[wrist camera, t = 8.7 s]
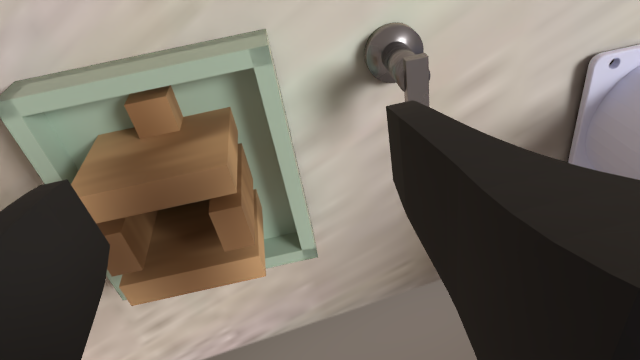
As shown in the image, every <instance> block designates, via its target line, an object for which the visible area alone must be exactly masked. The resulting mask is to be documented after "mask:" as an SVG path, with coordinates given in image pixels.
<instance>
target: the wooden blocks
mask: <svg viewBox="0 0 640 360" xmlns="http://www.w3.org/2000/svg"><path fill="white" fill-rule="evenodd" d="M124 106H125V108H126V111H127V113H128V115H129V117H130V119H131V121H132V123H133V125H134V127H133V128H129V129H124V130H119V131H115V132H110V133H105V134H101V135H98V136H97V138H96V140H95V142H94V143H93V145H92V147H91V149H90V151H89V153H88V154H87V156H86V158H85V160H84V162H83V163H82V165H81V167H80V169H79V171H78V173H77V174H76V176H75V178H74V180H73V182H72V183H71V186H72V187H73V189H74V190H75V192H76V193H77V195H78V196H79V198H80V199H81V201H82V203H83V204H84V206H85V207H86V209H87V210H88V212H89V213H90V215H91V216H92V218H93V219H94V221H95V222H96V224H97V226H98V227H99V229H100V230H101V232H102V233H103V235H104V236H105V238H106V239H107V241H108V242H109V244H110V250H109V259H108V267H107V270H108V271H109V273H110V274H111V276H112V277H113V276H118V275H122V274H123V275H122V278H121V281H120V285H119V288H120V289H121V291H122V292H123V294H124V295H125V297H126V298H127V300H128V301H129V303H130V305H131V306H134V305H138V304H143V303H147V302H152V301H156V300H161V299H165V298H170V297H174V296H179V295H183V294H188V293H192V292H197V291H201V290H206V289H210V288H215V287H219V286H224V285H228V284H233V283H237V282H242V281H246V280H251V279H255V278H260V277H264V276H266V267H265V249H264V232H263V214H262V206H261V203H260V199H259V196H258V193H257V190H256V189H254V190H253V177H252V174H251V171H250V168H249V165H248V161H247V158H246V155H245V152H244V149H243V146H242V143H240V144H238V130H237V126H236V123H235V120H234V117H233V114H232V111H231V107H227V108H222V109H218V110H213V111H208V112H204V113H199V114H194V115H190V116H185V117H183V115H182V112H181V110H180V107H179V105H178V102H177V99H176V97H175V94H174V92H173V89H172V87H171V85H169V86H165V87H160V88H155V89H150V90H146V91H141V92H136V93H131V94H129V96H128V98H127V100H126V102H125V104H124ZM207 199H208V200H207ZM202 200H203V201H202ZM197 201H199V202H197ZM193 202H194V203H193ZM188 203H189V204H188ZM184 204H185V205H184ZM179 205H180V206H179ZM174 206H176V207H174ZM170 207H171V208H170ZM165 208H166V209H165ZM161 209H162V210H161Z"/></svg>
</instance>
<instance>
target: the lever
mask: <svg viewBox="0 0 640 360" xmlns="http://www.w3.org/2000/svg"><path fill="white" fill-rule="evenodd" d="M364 57H365V62H366V65H367V67H368V69H369V70H370V72H371V73H372V75H373V76H374V77H376V78H377V79H378V80H380V81H383V82H386V83H397V84H398V85H399V87H400V88H401V89H402V90H403V91H404V92H405V102H407V101H412V100H414V101H416V102H419V103H421V104H423V105H425V106H428V107H429V80H430V71H429V67H428V56H427V55H426V54H425V53H423V43H422V40H421V38H420V36H419V35H418V34H417V33H416V32H415V31H414V30H413V29H412V28H411V27H409V26H408V25H406V24H403V23H389V24H386V25H383V26H382V27H380V28H378V29H377V30H376V31H375V32H374V33H373V34H372V35H371V36H370V38H369V39H368V41H367V44H366V47H365V52H364Z"/></svg>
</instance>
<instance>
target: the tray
mask: <svg viewBox="0 0 640 360" xmlns="http://www.w3.org/2000/svg"><path fill="white" fill-rule="evenodd" d="M169 85H171V87H172V89H173V92H174V94H175V97H176V99H177V102H178V105H179V107H180V110H181V112H182V115H183V117H185V116H190V115H194V114H199V113H204V112H208V111H213V110H218V109H222V108H227V107H231V111H232V114H233V117H234V120H235V123H236V126H237V130H238V144H240V143H242V146H243V149H244V152H245V155H246V158H247V161H248V165H249V168H250V171H251V174H252V177H253V190H254V189H256V190H257V193H258V196H259V199H260V203H261V206H262V214H263V232H264V249H265V267H266V268H271V267H275V266H280V265H284V264H289V263H293V262H298V261H302V260H307V259H311V258H316V257H318V254H317V249H316V244H315V239H314V234H313V229H312V225H311V220H310V216H309V212H308V207H307V203H306V199H305V195H304V190H303V186H302V182H301V178H300V173H299V169H298V165H297V160H296V156H295V152H294V148H293V143H292V139H291V135H290V131H289V126H288V122H287V118H286V114H285V109H284V105H283V101H282V96H281V92H280V88H279V84H278V79H277V75H276V71H275V67H274V62H273V58H272V54H271V50H270V45H269V41H268V37H267V32H266V29H263V30H258V31H253V32H248V33H244V34H239V35H234V36H229V37H224V38H220V39H215V40H210V41H205V42H201V43H196V44H191V45H186V46H182V47H177V48H172V49H167V50H163V51H158V52H153V53H148V54H144V55H139V56H134V57H129V58H125V59H120V60H115V61H110V62H106V63H101V64H96V65H91V66H87V67H82V68H77V69H72V70H68V71H63V72H58V73H53V74H48V75H44V76H39V77H34V78H29V79H25V80H20V81H15V82H14V83H13V84H12V85H10V86H9V87H8V88H7V89H6V90H5V91H4V92H3V93H2V94H1V95H0V118H1V120H2V121H3V123H4V124H5V126H6V127H7V128H8V130H9V131H10V133H11V134H12V136H13V137H14V139H15V140H16V142H17V143H18V145H19V146H20V148H21V149H22V151H23V152H24V154H25V155H26V157H27V158H28V160H29V161H30V163H31V164H32V166H33V167H34V169H35V170H36V172H37V173H38V175H39V176H40V178H41V179H42V181H43V182H44V184H49V183H53V182H57V181H62V180H66V179H68V181H69V183H70V184H71V183H72V182H73V180H74V178H75V176H76V174H77V173H78V171H79V169H80V167H81V165H82V163H83V162H84V160H85V158H86V156H87V154H88V153H89V151H90V149H91V147H92V145H93V143H94V142H95V140H96V138H97V136H98V135H101V134H105V133H110V132H115V131H119V130H124V129H129V128H133V127H134V125H133V123H132V121H131V119H130V117H129V115H128V113H127V111H126V108H125V106H124V104H125V102H126V100H127V98H128V96H129V94H131V93H136V92H141V91H146V90H150V89H155V88H160V87H165V86H169ZM207 200H208V199H207ZM202 201H203V200H202ZM197 202H199V201H197ZM193 203H194V202H193ZM188 204H189V203H188ZM184 205H185V204H184ZM179 206H180V205H179ZM174 207H176V206H174ZM170 208H171V207H170ZM165 209H166V208H165ZM161 210H162V209H161ZM122 275H123V274H122ZM122 275H118V276H113V277H112V276H111V274H110V273H109V271H108V270H107V273H106V276H107V277H108V279H109V280H110V282H111V283H112V285H113V286H114V288H115V289H116V291H117V292H118V294H119V295H120V297H121V298H122V300H127V298H126V297H125V295H124V294H123V292H122V291H121V289H120V288H119V285H120V281H121V278H122Z"/></svg>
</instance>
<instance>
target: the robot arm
mask: <svg viewBox="0 0 640 360" xmlns="http://www.w3.org/2000/svg"><path fill="white" fill-rule="evenodd" d="M613 59H614V61H613V63H612V64H611V65H609V64H610V62H611V61H612V60H613ZM386 111H387V121H388V132H389V142H390V152H391V162H392V172H393V181H394V183H395V186H396V189H397V191H398V194H399V197H400V200H401V202H402V205H403V207H404V210H405V212H406V215H407V217H408V219H409V221H410V222H411V224H412V226H413V228H414V230H415V232H416V234H417V235H418V237H419V239H420V241H421V243H422V245H423V247H424V248H425V250H426V252H427V254H428V256H429V258H430V259H431V261H432V263H433V265H434V267H435V268H436V270H437V272H438V274H439V276H440V278H441V279H442V281H443V283H444V285H445V287H446V288H447V290H448V292H449V295H450V296H451V298H452V301H453V303H454V305H455V307H456V309H457V311H458V314H459V316H460V318H461V321H462V323H463V326H464V328H465V330H466V333H467V335H468V338H469V340H470V343H471V345H472V347H473V350H474V352H475V355H476V357H477V360H640V44H639V45H635V46H630V47H625V48H621V49H616V50H611V51H607V52H602V53H599V54H597V55H596V56H594V57H593V58H592V59H591V61H590V63H589V65H588V70H587V75H586V80H585V84H584V89H583V94H582V98H581V103H580V108H579V113H578V117H577V122H576V127H575V132H574V136H573V141H572V146H571V151H570V155H569V160H568V163H567V162H564V161H560V160H557V159H554V158H550V157H547V156H544V155H540V154H537V153H534V152H531V151H528V150H526V149H523V148H520V147H518V146H515V145H512V144H510V143H507V142H505V141H502V140H499V139H497V138H494V137H492V136H490V135H487V134H485V133H483V132H480V131H478V130H476V129H474V128H471V127H469V126H467V125H465V124H463V123H461V122H459V121H456V120H454V119H452V118H450V117H448V116H446V115H444V114H442V113H440V112H438V111H436V110H434V109H432V108H430V107H428V106H425V105H423V104H421V103H419V102H416V101H414V100H412V101H407V102H403V103H399V104H394V105H390V106H386ZM109 250H110V244H109V242H108V241H107V239H106V238H105V236H104V235H103V233H102V232H101V230H100V229H99V227H98V226H97V224H96V222H95V221H94V219H93V218H92V216H91V215H90V213H89V212H88V210H87V209H86V207H85V206H84V204H83V203H82V201H81V199H80V198H79V196H78V195H77V193H76V192H75V190H74V189H73V187H72V186H71V184H70V183H69V181H68V179H66V180H62V181H57V182H53V183H49V184H44V185H40V186H38V187H37V188H35V189H33V190H31V191H30V192H28V193H26V194H25V195H23V196H22V197H20V198H19V199H17V200H16V201H15V202H13V203H12V204H10V205H9V206H7V207H6V208H5V209H3V210H2V211H1V212H0V360H81V358H82V355H83V352H84V349H85V346H86V343H87V340H88V337H89V333H90V330H91V327H92V324H93V321H94V318H95V315H96V311H97V308H98V305H99V301H100V298H101V295H102V291H103V288H104V284H105V279H106V273H107V267H108V259H109Z"/></svg>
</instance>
